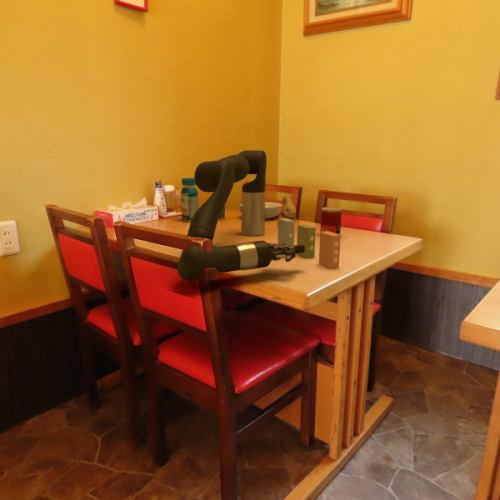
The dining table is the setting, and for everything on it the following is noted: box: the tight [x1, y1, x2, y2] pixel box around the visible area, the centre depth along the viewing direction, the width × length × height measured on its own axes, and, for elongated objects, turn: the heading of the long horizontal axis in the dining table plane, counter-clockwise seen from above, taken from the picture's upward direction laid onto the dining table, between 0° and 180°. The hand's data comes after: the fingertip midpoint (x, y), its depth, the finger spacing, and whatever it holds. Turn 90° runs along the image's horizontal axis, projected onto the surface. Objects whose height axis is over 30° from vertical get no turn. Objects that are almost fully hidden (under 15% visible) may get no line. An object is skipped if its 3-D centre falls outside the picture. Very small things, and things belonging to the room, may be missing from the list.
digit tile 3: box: [318, 231, 342, 269], centre depth 124 cm, size 3×6×10 cm, turn 27°
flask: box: [219, 205, 226, 220], centre depth 198 cm, size 9×3×11 cm, turn 151°
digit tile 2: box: [296, 223, 317, 259], centre depth 135 cm, size 3×6×10 cm, turn 27°
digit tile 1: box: [277, 218, 296, 246], centre depth 146 cm, size 3×6×10 cm, turn 27°
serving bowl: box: [239, 201, 283, 220], centre depth 203 cm, size 21×21×7 cm
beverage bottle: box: [180, 177, 200, 222], centre depth 195 cm, size 8×8×20 cm
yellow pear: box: [276, 193, 297, 227], centre depth 177 cm, size 7×11×15 cm, turn 30°
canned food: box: [319, 206, 343, 235], centre depth 164 cm, size 8×8×11 cm
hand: (303, 248), depth 120 cm, fingers closed
